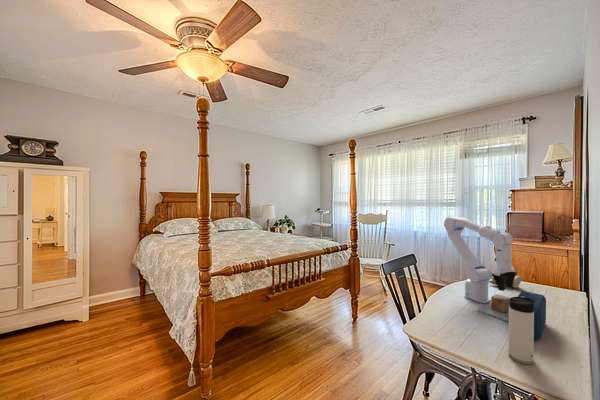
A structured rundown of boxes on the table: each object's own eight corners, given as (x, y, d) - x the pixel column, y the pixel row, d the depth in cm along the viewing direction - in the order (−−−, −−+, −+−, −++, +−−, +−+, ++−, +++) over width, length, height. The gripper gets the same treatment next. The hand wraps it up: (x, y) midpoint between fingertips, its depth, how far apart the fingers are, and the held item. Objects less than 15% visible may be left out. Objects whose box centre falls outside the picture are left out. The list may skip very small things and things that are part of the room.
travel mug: (539, 366, 82) (540, 303, 82) (515, 363, 84) (516, 301, 83) (526, 354, 88) (527, 295, 88) (504, 352, 90) (505, 294, 89)
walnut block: (491, 309, 119) (491, 296, 119) (496, 306, 122) (496, 294, 121) (504, 313, 115) (504, 300, 115) (509, 310, 117) (509, 297, 117)
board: (478, 311, 120) (478, 309, 120) (492, 304, 127) (492, 301, 127) (509, 322, 109) (509, 320, 109) (523, 313, 117) (523, 311, 117)
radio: (518, 316, 115) (519, 270, 114) (546, 323, 108) (547, 275, 108) (509, 334, 101) (509, 282, 100) (540, 343, 94) (540, 288, 93)
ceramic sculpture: (520, 275, 142) (487, 271, 152) (521, 291, 141) (488, 286, 151) (521, 270, 149) (489, 267, 160) (522, 286, 149) (490, 281, 159)
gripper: (506, 262, 114) (508, 294, 114) (521, 258, 121) (522, 287, 121) (488, 260, 120) (490, 290, 120) (503, 256, 127) (504, 284, 127)
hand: (505, 288), depth 121 cm, fingers open, 7 cm apart
